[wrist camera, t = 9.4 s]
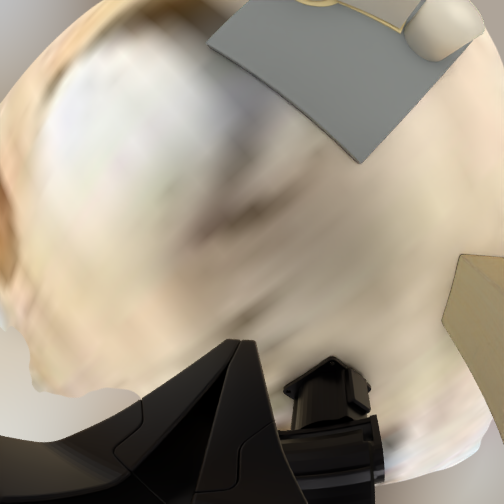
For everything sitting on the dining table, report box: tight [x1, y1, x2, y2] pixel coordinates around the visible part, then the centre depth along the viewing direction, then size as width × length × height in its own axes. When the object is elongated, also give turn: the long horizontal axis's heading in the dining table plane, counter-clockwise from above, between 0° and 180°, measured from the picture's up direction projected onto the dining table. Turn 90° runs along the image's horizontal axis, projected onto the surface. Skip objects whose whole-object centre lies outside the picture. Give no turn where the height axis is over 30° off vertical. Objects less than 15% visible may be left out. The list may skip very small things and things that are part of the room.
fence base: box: [404, 0, 485, 62], centre depth 8 cm, size 10×4×8 cm, turn 154°
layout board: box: [206, 0, 473, 164], centre depth 13 cm, size 16×14×1 cm
